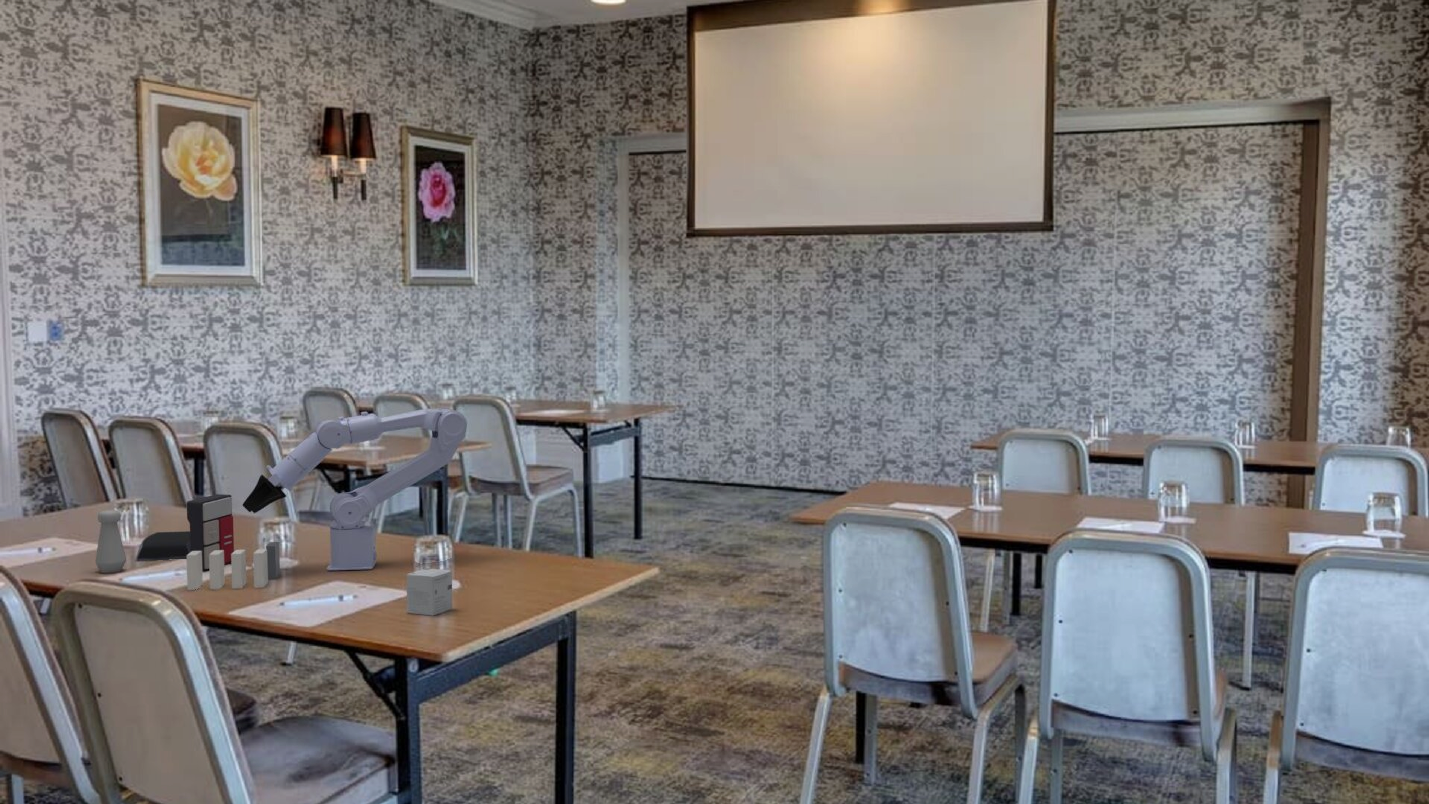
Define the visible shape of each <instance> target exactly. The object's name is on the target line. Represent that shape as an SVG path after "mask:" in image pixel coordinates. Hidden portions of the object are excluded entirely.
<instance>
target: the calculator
mask: <svg viewBox="0 0 1429 804" xmlns="http://www.w3.org/2000/svg"><path fill="white" fill-rule="evenodd" d="M186 518H187V521H188V524H189V531H190V550H191V552H192V551H202V572H203V571H204V572H207V571H209V570H208V569H209V554H211V553H212V552H213V551H214V550H224V566H225V565H227V564H230V563H231V554H232V553H233V552H234V551H235V546H234V545H235V539H234V537H235V535H234V516H233V497H232V495H231V494H221V493H220V494H219V493H216V494H212V495H209V496H204V497H200V498H196V499H191V500H188V501H186ZM206 570H207V571H206Z"/></svg>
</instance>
